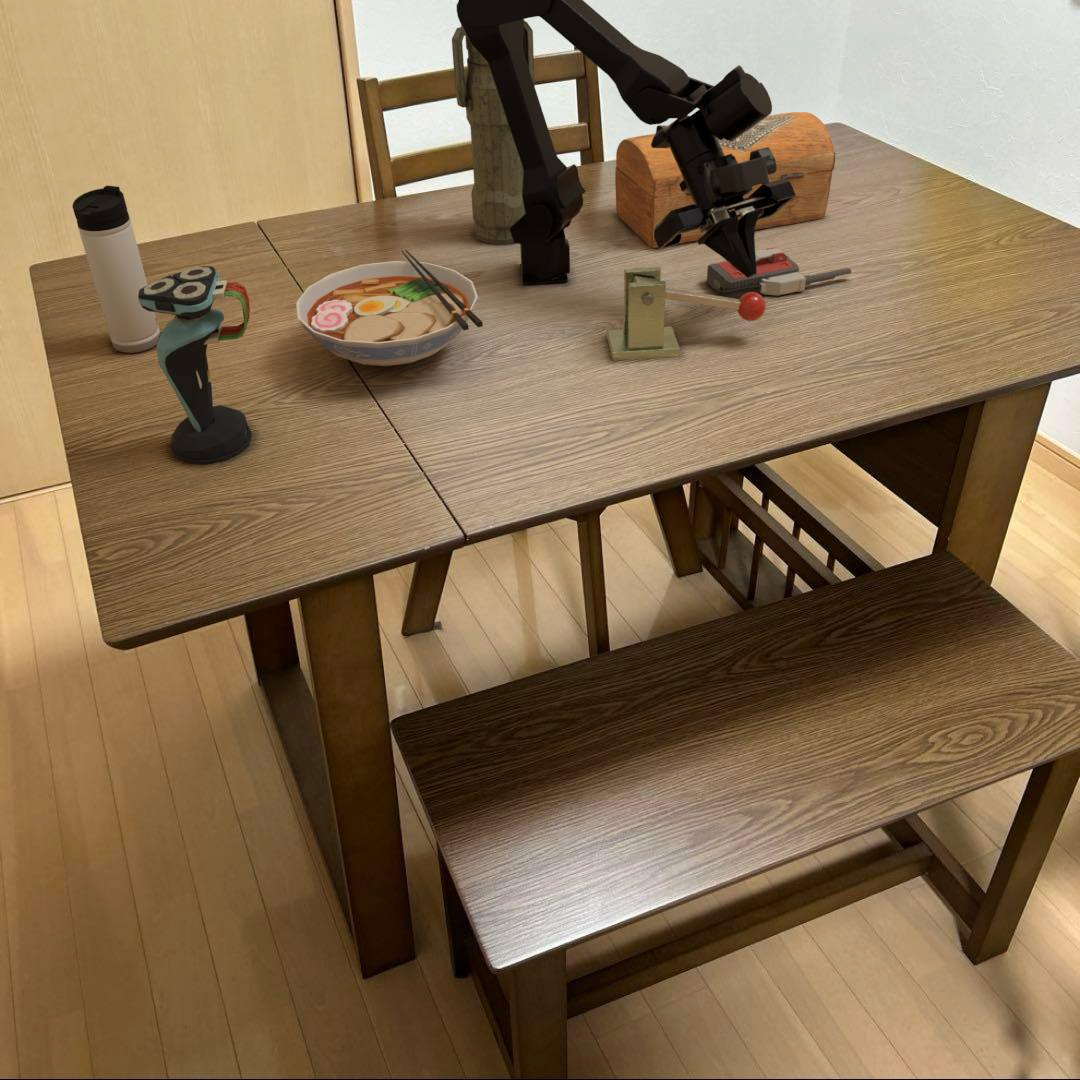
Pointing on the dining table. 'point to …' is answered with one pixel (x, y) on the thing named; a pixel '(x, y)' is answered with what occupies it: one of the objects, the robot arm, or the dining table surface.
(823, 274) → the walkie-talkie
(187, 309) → the electric shaver
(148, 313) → the travel mug
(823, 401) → the dining table surface
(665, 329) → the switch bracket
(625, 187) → the wooden box
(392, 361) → the ramen bowl
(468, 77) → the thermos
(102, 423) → the dining table surface
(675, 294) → the switch lever
